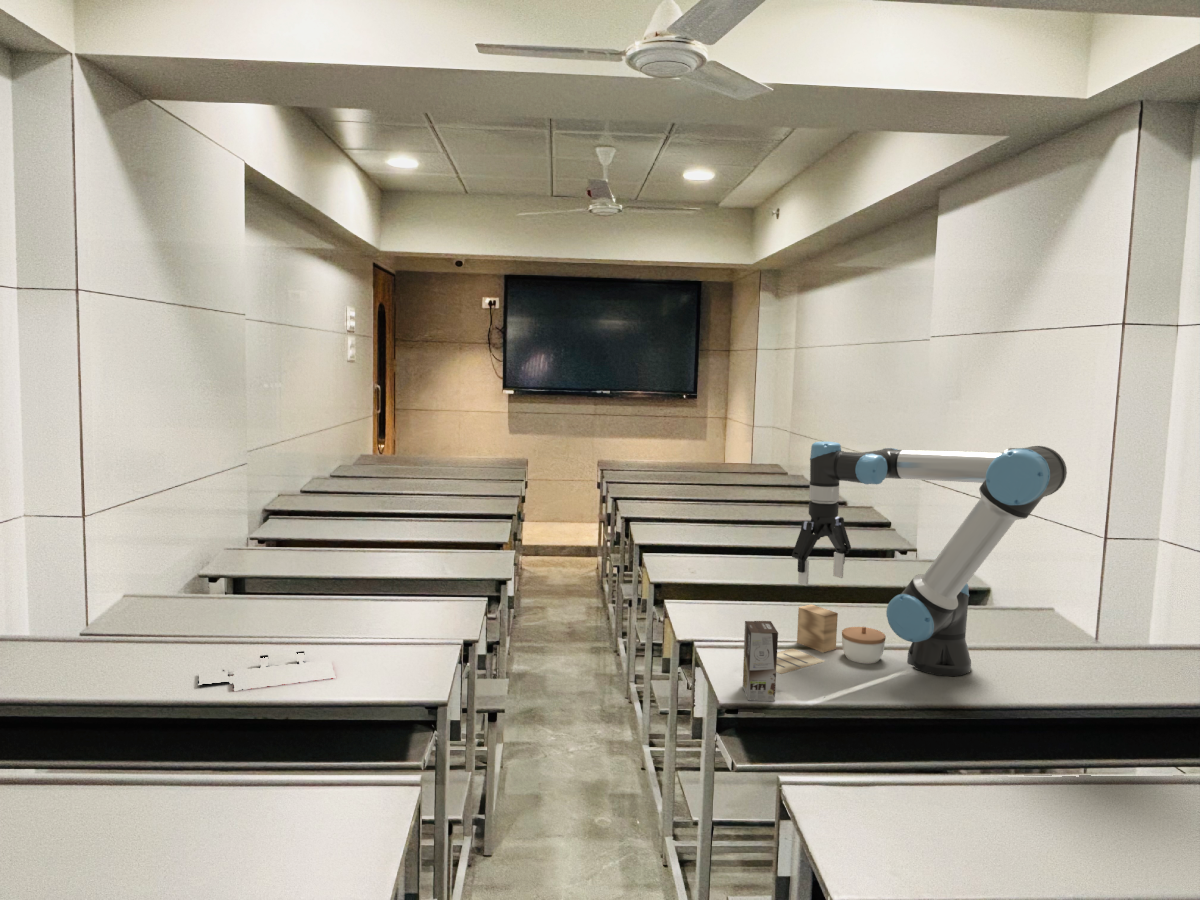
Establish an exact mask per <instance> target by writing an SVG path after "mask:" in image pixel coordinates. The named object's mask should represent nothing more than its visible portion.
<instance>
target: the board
mask: <svg viewBox="0 0 1200 900" xmlns="http://www.w3.org/2000/svg"><path fill="white" fill-rule="evenodd" d="M824 662H826V661H825V660H823V659H821V658H818V657H816V656H813V655H810V654H808V653H806V652H803V651H800V650H799V649H796V648H794V647H793V648H789V649H785V650H782V651H781V650H780V651H777V665H776V674H777V673H778V674H780V675H782V674H786V673H789V672H793V671H797V670H800V669H803V668H807V667H811V666H813V665H817V664H821V663H824Z"/></svg>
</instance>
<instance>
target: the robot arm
mask: <svg viewBox="0 0 1200 900" xmlns="http://www.w3.org/2000/svg"><path fill="white" fill-rule="evenodd" d="M841 446H842V445H841V443H839V442H835V441H815V442H813V443H812V444H811V448H810V455H809V456H810V457H809V461H810V462H809V463H810V464H809V465H810V467H809V468H810V469H809V472H810V473H809V500H810V501H809V502H808V515H809V516H810V521H805V520H803V521H802V522H801V526H800V527H801V528H800V532H799V533H798V537H797V539H796V542H795V544H794V547H793V551H792V553H791V557H792V558H794V559H797V572H798V577H797V578H798V580H797V583H798V584H799V585H803V586H805V587H807V586H809V575H810V574H809V573H810V571H809V569H810V560H809V559H808V558H809V556H810V554H811V553H812V550H813V549H814V547H815V546H816V543H817V542H818V541H819V540H821V538H825V537H828V539H829V541H830V542H831V545H832V546H833V547H834V549H835V551H834V552H833V568H832V569H833V575H832V576H833V577H835V578H840V579H843V578H844V566H845V559H846V555H848V554H849V553H850V551H851V548H852V547H851V543H850V539H849V537H848V532H847V529H846V527H845V517H842V516H839V505H840V504H839V502H838V501H839V500H840V481H841V482H843V481H845V482H851V483H858V484H859V483H860V484H864V485H880V484H881V483H883V481H884V480H885V479H895V480H896V479H897V480H898V479H900V480H902V479H903V480H919V481H920V480H921V481H940V482H941V481H942V482H958V483H959V482H960V483H974V484H975V483H976V484H980V483H981V485H980V486H979V488H978V490H979V493H980V498H979V500H978V501H977V503H975V505H974V507H973V508H972V509H971V511H970V512H969V513H968V515H967V516H966V517H965V519H964V520H963V521H962V523H961V524H960V526H959V527H957V530H956V531H955V532H954V534H953V535H952V536H951V538H950V539H949V540H948V542H947V543H946V545H945V546H944V547H943V548H942V550H941V551H940V552H939V554H938V556H937V557H935V559H934V560H933V562H932V563H931V565H929V567H928V569H927V570H926V572H925V573H922V574H921V573H920V574H916V575H914V576H913V578H912V579H911V580H910V582H909V583H908V585H907V586H906V587H905V588H904V589H903V591H902V592H901V593H900V594H897V595H895V596H894V597H893V598H892V599H891V600H890V601H889V602H888V604H887V607H886V610H885V611H886V613H885V614H886V619H887V623H888V625H889V627H890V629H891V630H892V631H893V633H895V635H896V636H898V637H899V638H900V639H902V640H904V641H905V642H910V643H911V644H910V647H909V649H908V652H907V657H906V658H907V659H906V662H907V664H908V665H910V666H912V667H913V668H914V669H916V670H917V671H921V672H922V673H923V672H924V673H928V674H931V675H936V676H943V677H944V676H946V677H959V676H958V675H960V676H964V675H963V674H965V675H967V674H969V673H970V672H971V671H970V670H972V660H971V656H970V651H969V648H968V645H967V641H966V640H967V639H966V635H967V634H966V633H967V623H968V621H967V620H968V609H969V597H970V594H969V590H970V589H969V586H970V585H969V584H968V582H969V581H970V580H971V579H972V577H973V576H974V574H975V573H976V572H977V571H978V569H979V568H980V567H981V565H983V563H984V562H985V560H986V559H987V558H988V557H989V555H990V554H991V553H992V551H993V550H994V548H995V547H996V546H997V545H998V544H999V542H1001V540H1002V539H1003V537H1004V536H1005V535H1006V533H1007V532H1008V531H1009V530H1010V528H1011V527H1012V525H1013V524H1014V523H1015V521H1017V520H1025V519H1027V518H1028V517H1029V516H1030V514H1031V513H1032V512H1033V511H1034V510H1035V508H1036V507H1037V505H1038V504H1040V502H1041V501H1042V500H1043V499H1044V498H1045V497H1049V496H1050V495H1053V494H1055V493H1056V492H1057V491H1059V490H1060V489H1061V488H1062V486H1063V485H1064V484H1065V482H1066V479H1067V474H1068V472H1067V471H1068V470H1067V465H1066V462H1065V460H1064V458H1063V457H1062V456H1061V455H1060V453H1058V452H1057V451H1056V450H1054V449H1052V448H1050V447H1047V446H1043V445H1034V446H1033V445H1032V446H1027V447H1008V448H1006V449H1005V450H1004V451H973V450H972V451H970V450H969V451H967V450H927V449H924V450H923V449H922V450H921V449H898V448H891V447H890V448H889V447H887V448H886V447H885V448H882V449H878V450H870V451H865V452H855V451H854V452H852V451H851V452H850V451H844V450H842V447H841ZM807 559H808V560H807ZM969 671H970V672H969ZM968 672H969V673H968ZM966 673H967V674H966Z"/></svg>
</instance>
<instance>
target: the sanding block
mask: <svg viewBox="0 0 1200 900" xmlns="http://www.w3.org/2000/svg"><path fill="white" fill-rule="evenodd" d="M797 610H798V614H797V616H798V617H797V630H796V631H797V635H796V643H797V644H800V645H803V646H805V647H808V648H811V649H813V650H816V651H818V652H820V653H826V652H830V651H833V650H836V649H837V634H838V633H837V632H838V612H836V611H832V610H830V609H828V608H823V607H820V606H818V605H814V604H808V605H803V606H798V608H797Z"/></svg>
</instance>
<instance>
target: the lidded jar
mask: <svg viewBox="0 0 1200 900" xmlns="http://www.w3.org/2000/svg"><path fill="white" fill-rule="evenodd" d="M886 639H887V637H886V634H885V632H882V631H880V630H878V629H875V628H872V627H866V626H850V627H846V628H844V629H842V630H841V647H842V651H843V653H844V656H845V657H846V658H847V660H849V661H851V662H854V663H859V664H875V663H877V662H879V660H881V658H882V656H883V654H884V651H885V644H886Z"/></svg>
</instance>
